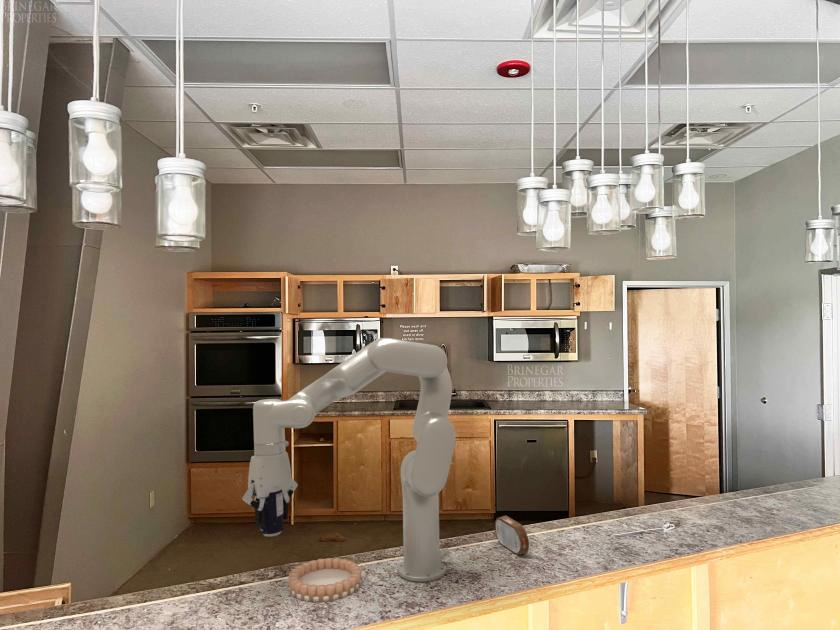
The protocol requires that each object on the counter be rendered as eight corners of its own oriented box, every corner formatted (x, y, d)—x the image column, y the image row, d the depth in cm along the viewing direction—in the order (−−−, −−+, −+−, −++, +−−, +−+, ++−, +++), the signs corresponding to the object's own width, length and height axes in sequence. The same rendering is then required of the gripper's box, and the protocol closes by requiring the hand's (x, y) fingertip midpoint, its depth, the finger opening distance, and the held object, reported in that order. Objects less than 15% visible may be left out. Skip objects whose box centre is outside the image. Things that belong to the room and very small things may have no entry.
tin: (530, 558, 151) (529, 527, 151) (520, 560, 149) (519, 529, 150) (502, 539, 165) (502, 511, 165) (493, 541, 163) (493, 513, 164)
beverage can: (274, 527, 139) (273, 480, 139) (288, 532, 135) (287, 483, 136) (255, 534, 134) (254, 486, 135) (269, 539, 131) (267, 489, 131)
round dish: (330, 563, 149) (330, 552, 149) (376, 582, 137) (376, 570, 137) (273, 586, 136) (273, 574, 136) (318, 609, 124) (318, 596, 124)
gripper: (290, 441, 145) (292, 510, 144) (230, 453, 132) (232, 528, 131) (307, 444, 140) (309, 515, 139) (246, 457, 127) (249, 535, 126)
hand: (272, 521), depth 135 cm, fingers closed on beverage can, 5 cm apart
